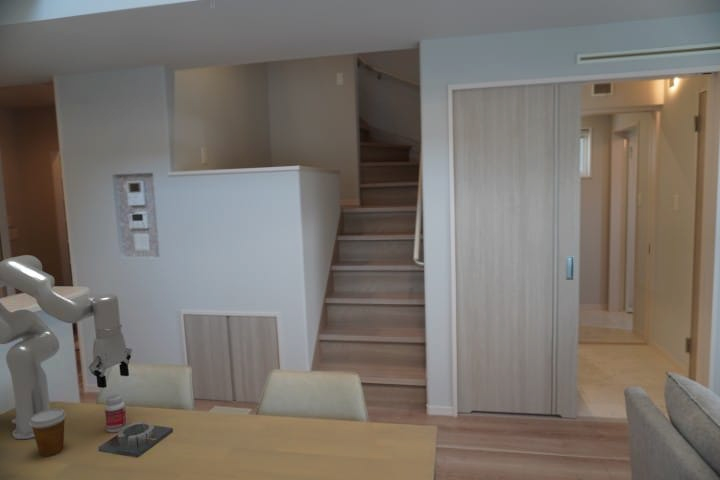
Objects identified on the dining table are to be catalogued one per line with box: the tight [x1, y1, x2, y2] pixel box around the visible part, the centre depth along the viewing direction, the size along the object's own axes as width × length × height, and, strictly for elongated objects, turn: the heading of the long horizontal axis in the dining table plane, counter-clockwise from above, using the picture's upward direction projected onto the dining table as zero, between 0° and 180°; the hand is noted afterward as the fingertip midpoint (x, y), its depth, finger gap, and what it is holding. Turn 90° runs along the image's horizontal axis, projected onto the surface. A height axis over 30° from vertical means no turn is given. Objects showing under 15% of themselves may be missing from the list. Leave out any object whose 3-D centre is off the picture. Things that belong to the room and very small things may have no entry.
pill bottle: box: [104, 394, 128, 433], centre depth 163 cm, size 6×6×11 cm
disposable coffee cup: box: [30, 408, 67, 458], centre depth 150 cm, size 10×10×12 cm
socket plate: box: [98, 421, 174, 458], centre depth 155 cm, size 15×16×4 cm
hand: (113, 381), depth 162 cm, fingers open, 9 cm apart
